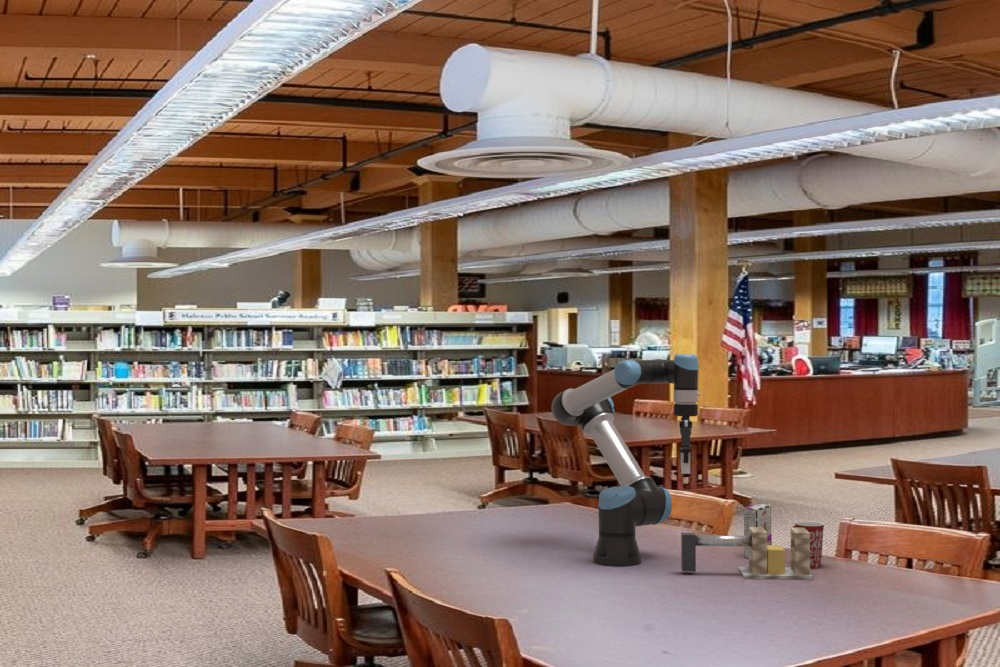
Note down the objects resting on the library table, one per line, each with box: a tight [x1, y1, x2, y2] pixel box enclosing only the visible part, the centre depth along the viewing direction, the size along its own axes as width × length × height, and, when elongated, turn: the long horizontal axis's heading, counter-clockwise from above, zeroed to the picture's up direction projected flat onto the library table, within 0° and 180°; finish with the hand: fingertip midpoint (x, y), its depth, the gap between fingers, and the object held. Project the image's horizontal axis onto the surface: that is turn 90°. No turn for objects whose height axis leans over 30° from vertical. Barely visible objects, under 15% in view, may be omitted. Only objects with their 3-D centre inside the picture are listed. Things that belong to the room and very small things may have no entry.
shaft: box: [680, 532, 752, 573], centre depth 359 cm, size 24×4×11 cm, turn 85°
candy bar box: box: [743, 503, 773, 559], centre depth 388 cm, size 11×5×16 cm, turn 143°
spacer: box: [767, 544, 786, 574], centre depth 358 cm, size 5×8×7 cm, turn 175°
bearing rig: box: [738, 527, 813, 581], centre depth 358 cm, size 20×13×14 cm, turn 85°
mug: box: [791, 520, 825, 569], centre depth 373 cm, size 13×9×14 cm
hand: (685, 471), depth 373 cm, fingers open, 13 cm apart
